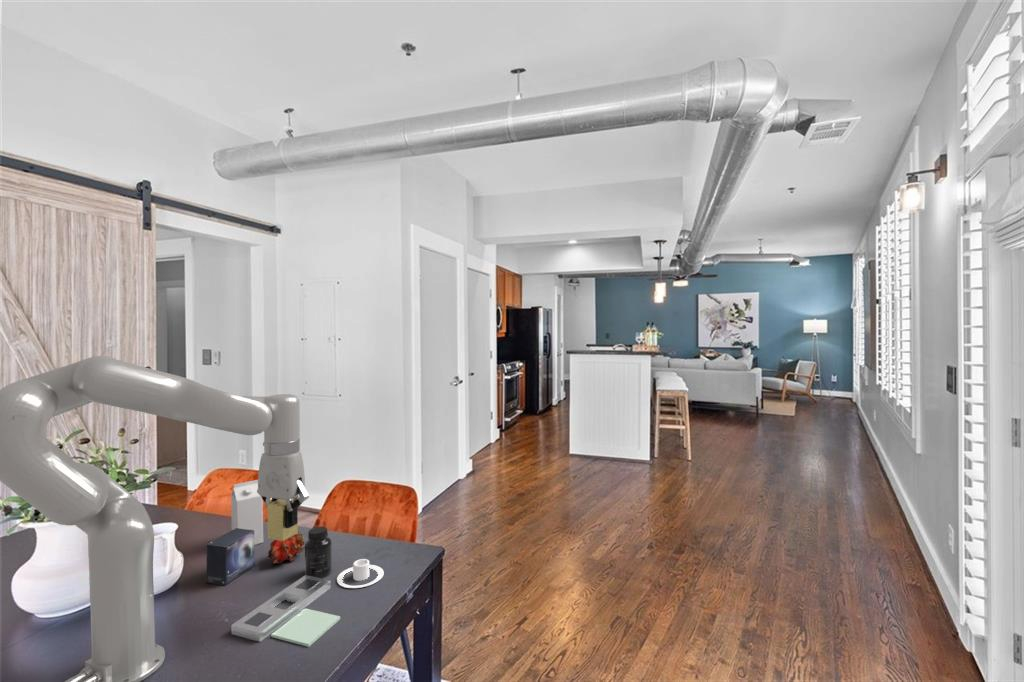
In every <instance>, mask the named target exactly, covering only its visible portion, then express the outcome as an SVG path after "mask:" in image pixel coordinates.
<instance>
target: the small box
mask: <svg viewBox="0 0 1024 682" xmlns="http://www.w3.org/2000/svg"><path fill="white" fill-rule="evenodd" d="M252 568H255V545H254V530H247V529H240V528H236V529H234V530H232V529H231V531H228V532H226V533H225V534H223V535H221V536H219V537H217V538H215V539H213V540H211V541H209V542H208V543H206V583H207V584H214V585H221V586H227V585H229V584H230V583H231V582H233V581H234V580H236V579H238V578H239V577H240V576H242V575H243V574H245V573H247V572H248V571H249V570H251V569H252Z"/></svg>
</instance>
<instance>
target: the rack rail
mask: <svg viewBox="0 0 1024 682" xmlns="http://www.w3.org/2000/svg"><path fill="white" fill-rule="evenodd" d="M330 589H331V580H330V579H326V578H317V577H312V576H307V575H306V574H305V575H303V576H301V577H300V578H299V579H297V580H296V581H295V582H293V583H291V584H290V585H289V586H287V587H285V588H284V589H282V590H281V591H280V592H278V593H276V594H275V595H274V596H272V597H270V598H269V599H268V600H267V601H265V602H263V603H261V604H260V605H259V606H258V607H256V608H254V609H253V610H251V611H250V612H249V613H247V614H246V615H244V616H242V617H241V618H240V619H238V620H237V621H235V622H233V624H231V629H230V630H231V635H233V636H237V637H240V638H241V637H242V638H245V639H247V640H252V641H256V642H262V641H263V640H265V639H266V638H267V637H268V636H269V635H270V636H271V634H272V633H274V632H275V631H276V630H277V629H279V628H280V627H281V626H283V625H284V624H285V623H287V622H288V621H289V620H290V619H292V618H293V617H294V616H296V615H297V614H298V613H300V612H301V611H302V610H304V609H305V608H306V607H307V606H309V605H311V603H313V602H314V601H315V600H317V599H318V598H319V597H321V596H322V595H324V594H325V593H326V592H327V591H329V590H330ZM284 600H287V602H290V601H291V602H290V603H293V604H291V605H290V606H288V608H286V609H284V608H283V609H282V608H278V607H277V605H278V604H279V603H280V604H282V603H283V602H285V601H284ZM282 601H283V602H282ZM281 602H282V603H281ZM294 602H295V603H294ZM280 604H279V605H280ZM279 605H278V606H279ZM275 606H276V607H275Z"/></svg>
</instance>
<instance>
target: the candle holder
mask: <svg viewBox="0 0 1024 682" xmlns="http://www.w3.org/2000/svg"><path fill="white" fill-rule="evenodd" d="M369 568H370V569H369ZM371 569H373V570H372V571H374V570H375V571H376V572H377V573H376V575H377V574H378V576H376V578H374V579H373V580H372V581H370V582H368V583H365V584H359V585H351V584H350V585H349V584H346V583H345V582H344V578H345V577H344V575H345V574H346V573H348V572H350V571H352V577H353V580H354V581H356V582H361V581H362V580H363V581H365V579H366V580H368V579H369V578H370V575H371V574H370V570H371ZM375 571H374V572H375ZM350 573H351V572H350ZM384 573H385V572H384V569H383V568H382V567H380V566H378V565H376V564H370V560H369V559H367V558H359V559H357V560H355V561H354V562H353V563H352V567H349V568H347V569H344V570H342V571H341V572H340V573H339V574H338V575H337V577H336V582H337V584H338V585H339V586H340V587H343V588H347V589H359V588H360V589H361V588H364V587H365V588H366V587H369V586H372V585H374V584H375V583H377V582H379V581H380V580H381V579H382V578H383V577H384ZM348 574H349V573H348ZM343 577H344V578H343ZM368 577H369V578H368ZM342 579H343V580H342ZM363 581H362V582H363ZM343 582H344V583H343Z"/></svg>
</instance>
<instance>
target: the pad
mask: <svg viewBox="0 0 1024 682" xmlns="http://www.w3.org/2000/svg"><path fill="white" fill-rule="evenodd" d="M340 620H341V616H340V615H336V614H331V613H327V612H323V611H319V610H313V609H309V608H306V607H305V608H304V609H302V610H301V611H300V612H298V613H297V614H296V615H294V616H293V617H292V618H291V619H289V620H288V621H287V622H285V623H284V624H283V625H281V626H280V627H279V628H278V629H276V630H275V631H274V632H272V633H271V634H270V637H271V638H274V639H278V640H281V641H286V642H289V643H292V644H296V645H299V646H304V647H308V648H309V647H310V646H312V644H314V643H315V642H316V641H317V640H318V639H319V638H321V637H323V635H324V634H325V633H326V632H328V630H330V629H331V628H332V627H333V626H334V625H335V624H337V623H338V622H339V621H340Z"/></svg>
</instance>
